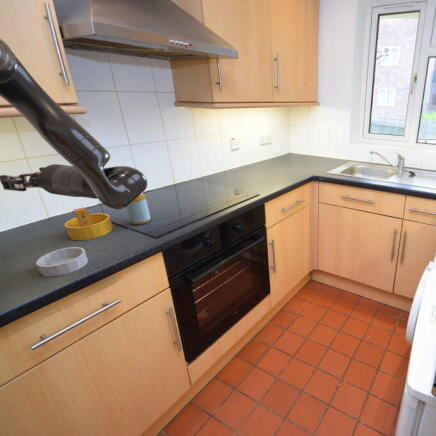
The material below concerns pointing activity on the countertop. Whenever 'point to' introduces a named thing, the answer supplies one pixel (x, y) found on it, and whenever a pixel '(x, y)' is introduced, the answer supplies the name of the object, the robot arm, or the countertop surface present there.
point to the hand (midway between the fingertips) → (22, 175)
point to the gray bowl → (62, 261)
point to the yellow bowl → (89, 227)
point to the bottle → (139, 211)
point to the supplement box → (82, 217)
